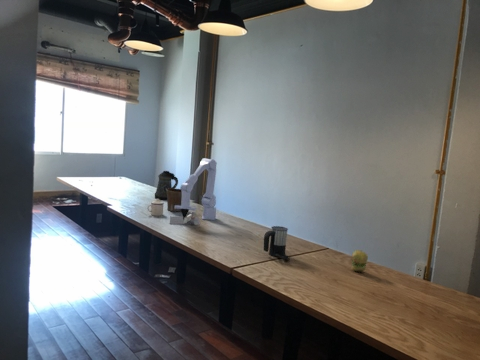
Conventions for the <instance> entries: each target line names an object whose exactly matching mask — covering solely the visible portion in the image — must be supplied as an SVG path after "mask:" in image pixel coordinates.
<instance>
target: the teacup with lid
mask: <svg viewBox="0 0 480 360" xmlns="http://www.w3.org/2000/svg"><path fill="white" fill-rule="evenodd" d="M164 204H165V203H164V201H162V200H159V199H155V200H154V201H151V204H149V205H147V211H148V212H150V215H151V216H155V217H160V216H163V215H164ZM149 207H150V209H149Z"/></svg>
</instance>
